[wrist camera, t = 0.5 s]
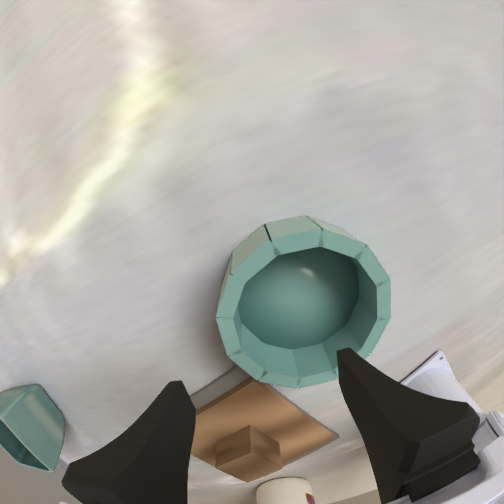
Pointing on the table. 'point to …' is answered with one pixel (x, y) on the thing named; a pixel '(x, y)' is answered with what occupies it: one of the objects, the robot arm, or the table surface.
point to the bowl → (301, 301)
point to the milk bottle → (285, 491)
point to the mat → (231, 381)
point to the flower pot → (31, 427)
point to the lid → (254, 431)
